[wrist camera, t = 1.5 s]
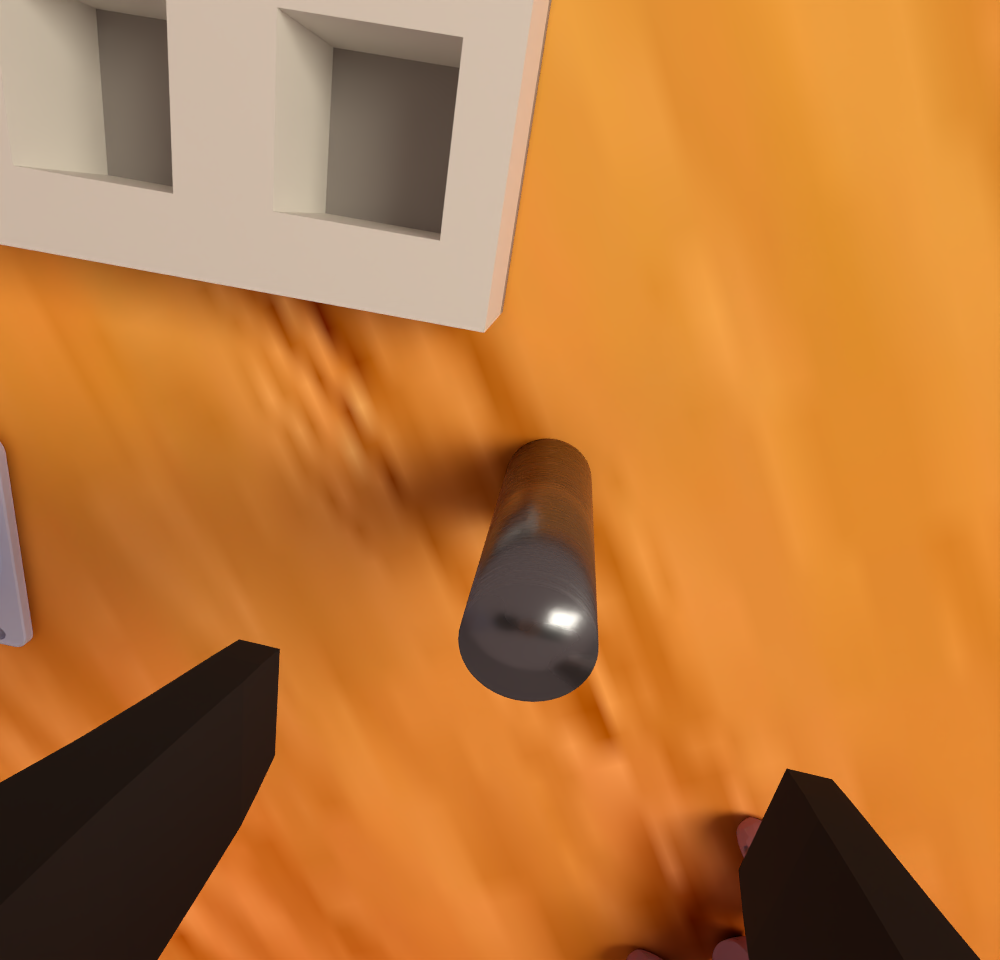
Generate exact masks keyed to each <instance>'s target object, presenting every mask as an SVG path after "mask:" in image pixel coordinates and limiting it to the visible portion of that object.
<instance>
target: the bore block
mask: <svg viewBox="0 0 1000 960" xmlns="http://www.w3.org/2000/svg"><path fill="white" fill-rule="evenodd" d="M550 6H551V0H0V244H1V245H7V246H12V247H18V248H23V249H29V250H34V251H40V252H45V253H51V254H56V255H62V256H67V257H73V258H78V259H84V260H89V261H95V262H100V263H106V264H111V265H117V266H122V267H128V268H133V269H138V270H144V271H149V272H155V273H160V274H166V275H171V276H177V277H182V278H188V279H193V280H199V281H204V282H210V283H215V284H221V285H226V286H232V287H237V288H243V289H248V290H254V291H259V292H265V293H270V294H276V295H281V296H286V297H292V298H297V299H303V300H308V301H314V302H319V303H325V304H330V305H336V306H341V307H347V308H352V309H358V310H363V311H369V312H374V313H380V314H385V315H391V316H396V317H402V318H407V319H413V320H418V321H424V322H429V323H434V324H440V325H445V326H451V327H456V328H462V329H467V330H473V331H478V332H485V331H486V330H487V329H488V328H489V327H490V326H491V324H492V323H493V322H494V321H495V320H496V319H497V318H498V316H499V315H500V314H501V313H502V311H503V305H504V299H505V292H506V286H507V280H508V273H509V267H510V260H511V254H512V248H513V241H514V235H515V229H516V222H517V216H518V210H519V203H520V197H521V190H522V184H523V178H524V171H525V165H526V159H527V152H528V146H529V139H530V133H531V127H532V120H533V114H534V108H535V101H536V95H537V89H538V82H539V76H540V69H541V63H542V57H543V50H544V44H545V38H546V31H547V25H548V19H549V12H550Z"/></svg>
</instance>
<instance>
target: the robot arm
mask: <svg viewBox="0 0 1000 960" xmlns="http://www.w3.org/2000/svg"><path fill="white" fill-rule="evenodd" d="M32 637H33V630H32V623H31V617H30V610H29V604H28V597H27V590H26V584H25V577H24V570H23V564H22V557H21V551H20V544H19V537H18V531H17V524H16V518H15V511H14V504H13V498H12V491H11V484H10V478H9V471H8V465H7V458H6V452H5V449H4V446H3V445H2V444H1V442H0V644H5V645H10V646H14V647H21V646H23V645H25V644H26V643H27V642H29V641H30V640H31V639H32ZM279 653H280V649H277V648H273V647H269V646H265V645H260V644H256V643H252V642H248V641H244V640H238V641H236V642H234V643H233V644H231V645H229V646H228V647H226V648H224V649H223V650H221V651H219V652H218V653H216V654H215V655H213V656H211V657H210V658H208V659H207V660H205V661H203V662H202V663H200V664H199V665H197V666H195V667H194V668H192V669H191V670H189V671H188V672H186V673H184V674H183V675H181V676H180V677H178V678H177V679H175V680H173V681H172V682H170V683H169V684H167V685H165V686H164V687H162V688H161V689H159V690H158V691H156V692H154V693H153V694H151V695H150V696H148V697H146V698H145V699H143V700H142V701H140V702H138V703H137V704H135V705H133V706H132V707H130V708H128V709H127V710H125V711H123V712H122V713H120V714H119V715H117V716H115V717H114V718H112V719H110V720H109V721H107V722H105V723H104V724H102V725H100V726H99V727H97V728H95V729H94V730H92V731H91V732H89V733H87V734H86V735H84V736H82V737H80V738H79V739H77V740H75V741H74V742H72V743H70V744H68V745H67V746H65V747H63V748H61V749H59V750H58V751H56V752H54V753H52V754H51V755H49V756H47V757H45V758H43V759H42V760H40V761H38V762H36V763H34V764H33V765H31V766H29V767H27V768H26V769H24V770H22V771H20V772H18V773H17V774H15V775H13V776H11V777H9V778H8V779H6V780H4V781H2V782H1V783H0V960H158V958H159V956H160V955H161V953H162V952H163V950H164V948H165V947H166V945H167V944H168V942H169V941H170V939H171V937H172V936H173V934H174V933H175V931H176V929H177V928H178V926H179V925H180V923H181V921H182V920H183V918H184V917H185V915H186V913H187V912H188V910H189V909H190V907H191V905H192V904H193V902H194V901H195V899H196V897H197V896H198V894H199V893H200V891H201V889H202V888H203V886H204V885H205V883H206V881H207V880H208V878H209V877H210V875H211V873H212V872H213V870H214V869H215V867H216V865H217V864H218V862H219V860H220V859H221V857H222V856H223V854H224V852H225V851H226V849H227V848H228V846H229V844H230V843H231V841H232V839H233V838H234V836H235V834H236V833H237V831H238V830H239V828H240V826H241V824H242V822H243V820H244V818H245V816H246V814H247V812H248V810H249V808H250V806H251V804H252V802H253V800H254V798H255V796H256V794H257V792H258V790H259V788H260V786H261V784H262V782H263V779H264V777H265V775H266V773H267V771H268V769H269V767H270V765H271V762H272V760H273V758H274V756H275V740H276V719H277V697H278V675H279ZM739 878H740V889H741V899H742V909H743V919H744V927H745V935H746V943H747V951H748V957H749V960H980V959H979V957H978V956H977V955H976V954H975V953H974V951H973V950H972V949H971V948H970V947H969V946H968V944H967V943H966V942H965V941H964V940H963V938H962V937H961V936H960V935H959V934H958V932H957V931H956V930H955V929H954V927H953V926H952V925H951V924H950V923H949V921H948V920H947V919H946V918H945V917H944V915H943V914H942V913H941V912H940V911H939V909H938V908H937V907H936V906H935V904H934V903H933V902H932V901H931V900H930V898H929V897H928V896H927V895H926V893H925V892H924V891H923V890H922V889H921V887H920V886H919V885H918V884H917V882H916V881H915V880H914V879H913V877H912V876H911V875H910V874H909V872H908V871H907V870H906V869H905V868H904V866H903V865H902V864H901V863H900V861H899V860H898V859H897V858H896V856H895V855H894V854H893V853H892V851H891V850H890V849H889V848H888V846H887V845H886V844H885V843H884V842H883V840H882V839H881V838H880V837H879V835H878V834H877V833H876V832H875V830H874V829H873V828H872V827H871V825H870V824H869V823H868V822H867V820H866V819H865V818H864V817H863V816H862V814H861V813H860V812H859V811H858V809H857V808H856V807H855V806H854V805H853V803H852V802H851V801H850V800H849V799H848V797H847V796H846V795H845V794H844V793H843V791H842V790H841V789H840V788H839V787H838V786H837V785H836V783H835V782H834V781H833V780H832V779H828V778H824V777H820V776H816V775H811V774H807V773H803V772H799V771H794V770H790V769H786V771H785V773H784V775H783V777H782V780H781V782H780V784H779V786H778V788H777V790H776V792H775V794H774V796H773V799H772V801H771V803H770V805H769V807H768V809H767V811H766V813H765V815H764V817H763V820H762V822H761V824H760V826H759V828H758V830H757V832H756V834H755V836H754V838H753V841H752V843H751V845H750V847H749V849H748V851H747V853H746V855H745V857H744V859H743V862H742V864H741V866H740V868H739Z"/></svg>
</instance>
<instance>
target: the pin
mask: <svg viewBox="0 0 1000 960" xmlns="http://www.w3.org/2000/svg"><path fill="white" fill-rule="evenodd" d="M458 640H459V649H460V653H461V656H462V659H463V661H464V663H465V665H466V667H467V668H468V670H469V671H470V672H471V674H472V675H473V676H474V677H475V678H476V679H477V680H478V681H479V682H480V683H481V684H483V685H484V686H485V687H487V688H488V689H490V690H491V691H493V692H495V693H497V694H499V695H502V696H504V697H507V698H511V699H515V700H520V701H530V702H536V701H546V700H552V699H555V698H559V697H561V696H564V695H566V694H568V693H570V692H571V691H573V690H575V689H576V688H577V687H579V686H580V685H581V684H582V683H583V682H584V681H585V680H586V679H587V678H588V676H589V675H590V674H591V672H592V670H593V668H594V666H595V663H596V660H597V656H598V624H597V601H596V577H595V553H594V529H593V506H592V482H591V471H590V468H589V465H588V463H587V461H586V459H585V458H584V456H583V455H582V454H581V453H580V452H579V451H578V450H577V449H576V448H574V447H573V446H572V445H570V444H568V443H566V442H563V441H560V440H555V439H541V440H536V441H533V442H530V443H528V444H526V445H525V446H523V447H522V448H520V449H519V450H518V451H517V452H516V453H515V454H514V456H513V457H512V459H511V460H510V462H509V465H508V467H507V471H506V474H505V477H504V481H503V484H502V488H501V491H500V494H499V498H498V501H497V504H496V508H495V511H494V514H493V518H492V521H491V524H490V528H489V531H488V534H487V538H486V541H485V545H484V548H483V551H482V555H481V558H480V561H479V565H478V568H477V571H476V575H475V578H474V581H473V585H472V588H471V591H470V595H469V598H468V602H467V605H466V608H465V612H464V615H463V618H462V622H461V625H460V629H459V637H458Z"/></svg>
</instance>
